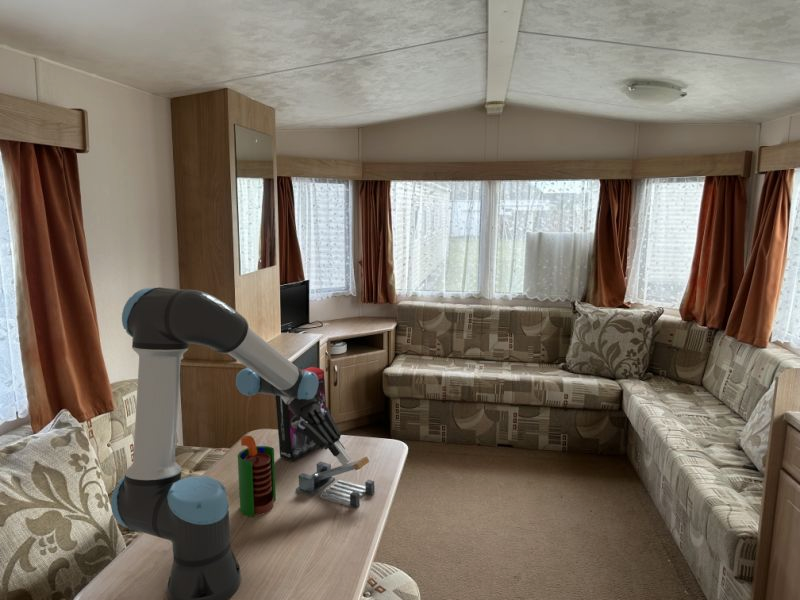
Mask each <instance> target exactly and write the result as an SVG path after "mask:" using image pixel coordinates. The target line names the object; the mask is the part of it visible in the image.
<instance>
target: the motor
mask: <svg viewBox="0 0 800 600" xmlns="http://www.w3.org/2000/svg"><path fill="white" fill-rule="evenodd" d="M240 445H241V446H243V447H244V446H245V447H247V448H244V449H242V450H241V451H239V452H238V454H237V471H238V472H237V473H238V489H239V490H238V493H239V510H240V511H239V512H240V513H241V514H242V515H243V516H246V517H248V518H254V517H255V516H256V515H262V514H263V513H264V514H267V513H268V512H270V511H272V509H274V506H275V505H274V502H276V501H277V499H276V473H275V472H276V471H275V470H276V469H275V468H276V467H275V449H274V447H271V446H268V445H256V441H255V439H254V437H253V436H251V435H244V436H243V437H241V438H240ZM264 514H263V515H264Z"/></svg>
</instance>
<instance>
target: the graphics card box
mask: <svg viewBox="0 0 800 600" xmlns="http://www.w3.org/2000/svg"><path fill="white" fill-rule="evenodd" d="M301 370H302V371H309V372H313V373H315V374H316V375H317V377H318V389H317V392H316V394H315V396H314V398H315V403H316V404H317V405H318V406H320V408H322V409H325V408H326V407H327V397H326V396H327V395H326V384H325V383H326V380H325V370H324V369H322V368H320V367H315V366H310V367H307V368H303V369H301ZM274 396H275V405H276V406H275V407H276V408H275V409H276V419H277V420H276V421H277V422H276V423H277V432H278V444H279V445H278V446H279V457H280V458H282V459H284V460H287V461H290V462H294V461H296V460H299V459H301V458H302V457H305V456H307V455H309V454H311V453H313V452H314V451H317V450H319V449H321V448H320V447H319V446H318V445H317V444H316V443H315V442H314V441H313V440H312V439H311V438H310V437H308V436H307V435H306V434H305V433H304V432H303V431H301V430H300V429H298V428H297V425H298V424H299V422H300V420H299V418H298V415H297V416H295V415H294V414H293V413H292V411H291V410H290V409H289V404H288V405H287V404H286V403H285V402H284V401H283V399H282V398H281V397H280V396H276V395H274Z"/></svg>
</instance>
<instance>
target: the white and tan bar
mask: <svg viewBox="0 0 800 600" xmlns="http://www.w3.org/2000/svg"><path fill="white" fill-rule="evenodd" d="M368 463H370V460H369V458H368V456H363V457H362V458H360V459H358V460H356V461H352V462H348V463H347V464H346V465H344V466H343V465H342V464H341V465H339V466H336V467H334V468H333V467H332V468H331V469H330V470H327V471H324V472H322V471H321V470H319V471H317V470H316V472H314V473H313V474H310V475H311V476H314V483H316V482H317V481H319V480H322V479H325V478H328V477H335V476H338V475H340V474H345V473H348V472H350V471H354V470H355V471H358V470H360V469H362V468H363V467H364V466H366V465H367V464H368Z"/></svg>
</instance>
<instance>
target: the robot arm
mask: <svg viewBox="0 0 800 600" xmlns="http://www.w3.org/2000/svg"><path fill="white" fill-rule="evenodd" d="M121 324H122V327H123V329H124V330H125V332H126V334H127V335H129V336H130V337H131V338H132V344H131V349H132V351H134V352H135V353H136V354H137V355H138V371H137V372H138V373H137V388H136V389H137V392H136V407H135V422H134V441H133V443H134V444H133V457H132V458H133V459H132V463H131V465H130V466H129V467H128V468H127V469H125V470H124V471H125V472H124V476H123V477H122V478H121V479H120V480H119V481H118V483H117V484H116V485H117V486H116V487H115V488H114V489H113V491H112V496H111V500H110V501H111V502H110V508H111V514H112V515H113V518H114V519H115V521H116V522H117V523H118V524H119V525H121V526H122V527H125V528H128V529H130V530H131V531H133V532H136V533H137V532H139V533H143V534H146V535H150V536H154V537H157V538H159V539H160V538H161V539H164V540H166V541H167V540H168V541H170V542H171V544H172V553H173V554H172V555H173V562H172V566H171V572H170V576H169V578H168V581H167V586H166V589H167V597H168V600H228V599H229V598H231V597H232V596H233V595H234V594H235V593H236V592H237V591H238V589H239V587H240V586H241V581H242V574H241V573H242V572H241V567H240V564H239V562H238V560H237V558H236V556H235V554H234V552H233V549H232V547H231V534H230V529H231V528H230V515H229V512H230V511H229V507H230V506H229V505H230V504H229V499H228V495H227V490H226V487H225V486H224V485H223V483H221V481H219V480H218V479H216V478H214V477H210V476H204V475H199V476H197V477H196V476H194V475H193V476H189V477H188V476H187V477H185V478H182V467H181V466H180V464H178V463H177V462H176V446H177V445H176V444H177V431H178V430H177V428H178V412H179V411H178V410H179V398H180V397H179V394H180V393H179V392H180V376H181V360H182V356H183V354H185V353H186V352H187V351H189V348H190V346H189V345H190V344H192V345H193V344H194V345H199V346H205V347H208V348H210V349H212V350H213V351H215V352H216V353H219V354H228V355H229V356H230V357H232V358H233V359H235V360H236V361H237V362H240V363H241V364H242V365H243V366H245V367H246V368H243V369H241V370H240V371H239V372H238V373H237V375H236V378H235V386H236V389H237V390H238V391H239V393H241V394H242V395H244V396H255V395H257V394H264V395H269V396H270V395H271V396H275V395H276V396H280V397H281V398H282V399H283V401H284V402H285V403H286V404H287V405H288V404H289V409H290V410H291V411H292V413H293V414H294V415H295V416H297V415H298V418H299V420H300V422H299V424H298V425H297V428H298V429H300V430H301V431H303V432H304V433H305V434H306V435H307V436H308V437H310V438H311V439H312V440H313V441H314V442H315V443H316V444H317V445H318V446H319V447H320V448H319V449H322V450H328V451H330V453H331V454H332V456H333V457H336V459H337V460H338V462H340V464H341V466H342V465H343V466H344V465H346V464H349V463H350V461H351V460H352V459H353V458H352V457H351V456H350V455H349V453H348V452H347V450H346V448H345V447H344V445H343V444H342V443H341V441H340V439H341V436H342V434H341V432H340V430H339V427H338V426H337V425H336V422H335V421H334V419H333V417H332V415H331V414H330V413H331V411H330V408H328V407H327V406H326V408H325V409H322V408H320V406H318V405H317V404H316V403H315V398H314V396H315V394H316V392H317V389H318V377H317V375H316V374H315V373H313V372H309V371H302V370H303V369H300V368H299V367H298V366H297V365H295V364H294V363H292V362H291V361H290V360H289V359H288V358H287V357H285V356H284V355H283V354H282V353H281V352H279V351H278V350H277V349H276V348H275V347H273V346H272V345H271V344H270V343H268V342H267V341H266V340H265V339H263V338H262V337H261V336H260V335H259V334H258V333H256V332H255V331H254V330H253V329H251V328H250V326H249V323H248V321H247V319H246V318H245V317H244V316H243V315H241V314H240V313H239V312H238V311H237V310H235V309H234V308H232V307H231V306H230V305H229V304H227V303H226V302H224V301H223V300H220V299H219V298H218V297H215V295H212V294H209V293H207V292H206V291H201V290H198V289H185V288H184V289H182V288H169V287H168V288H166V287H160V286H158V287H147V288H141V289H139V290H137V291H136V292H135V293H133V294H132V295H131V296H129V298H128V299H127V301H126V302H125V304H124V307H123V308H122V313H121ZM276 396H275V397H276Z"/></svg>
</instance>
